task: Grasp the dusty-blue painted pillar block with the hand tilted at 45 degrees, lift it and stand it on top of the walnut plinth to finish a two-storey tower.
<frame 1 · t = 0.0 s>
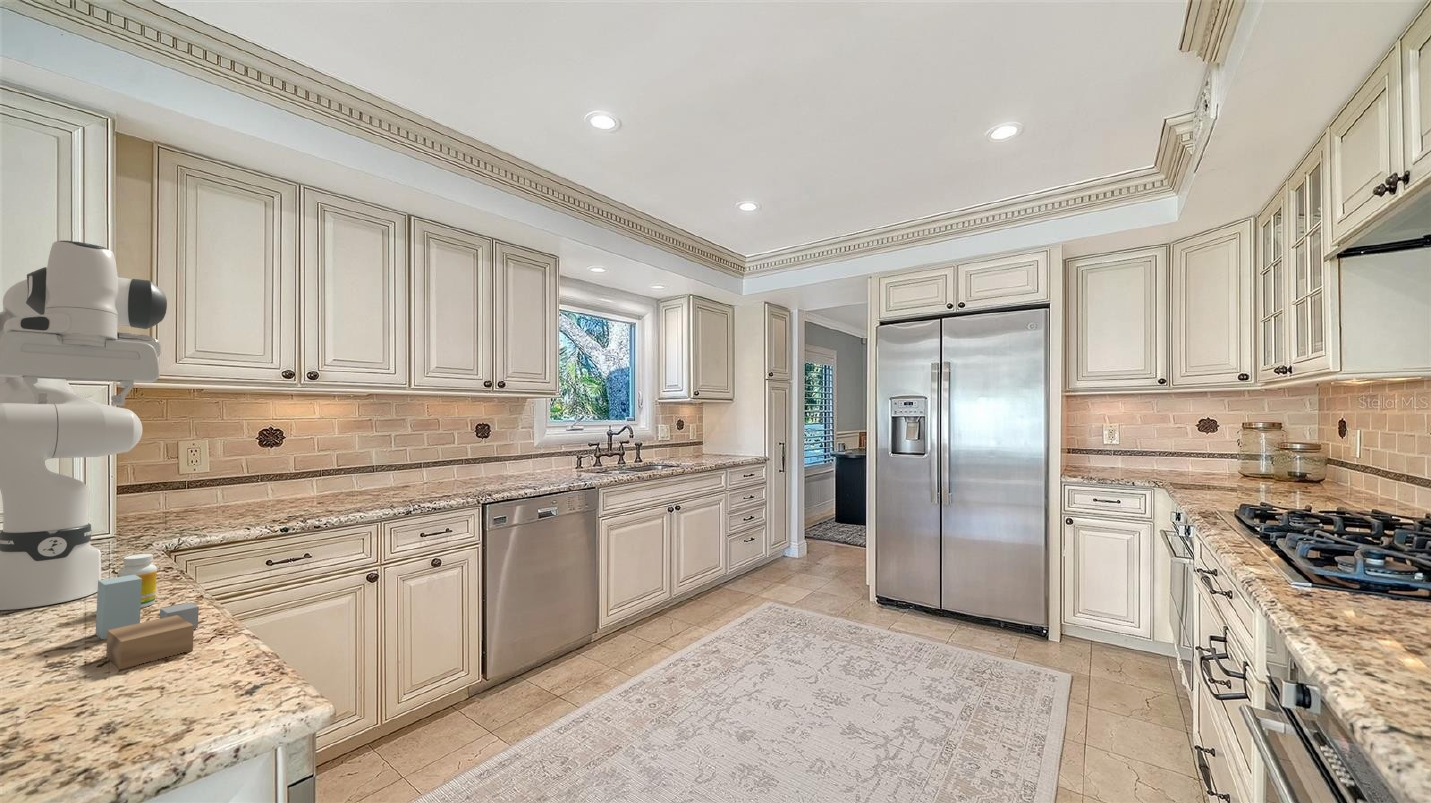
hand: (80, 404, 101), 39 cm above the countertop, tool pointing down, fingers open, 8 cm apart
plinth: (150, 653, 87), on the countertop
supplement bottle: (135, 607, 109), on the countertop
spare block: (178, 631, 97), on the countertop
pillar: (117, 632, 96), on the countertop
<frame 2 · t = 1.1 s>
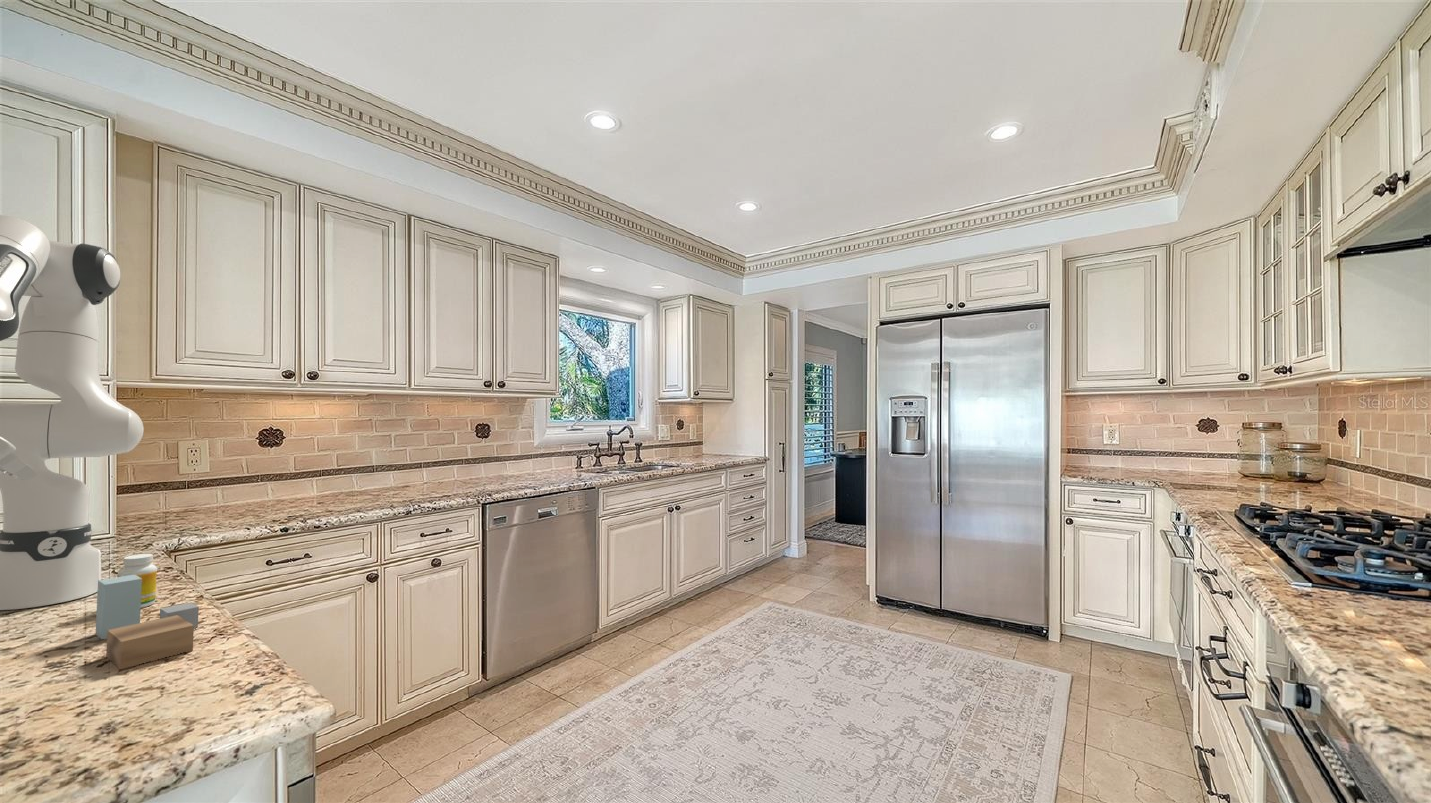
hand: (26, 475, 87), 27 cm above the countertop, tool tilted 45°, fingers open, 8 cm apart
nothing on the countertop moved.
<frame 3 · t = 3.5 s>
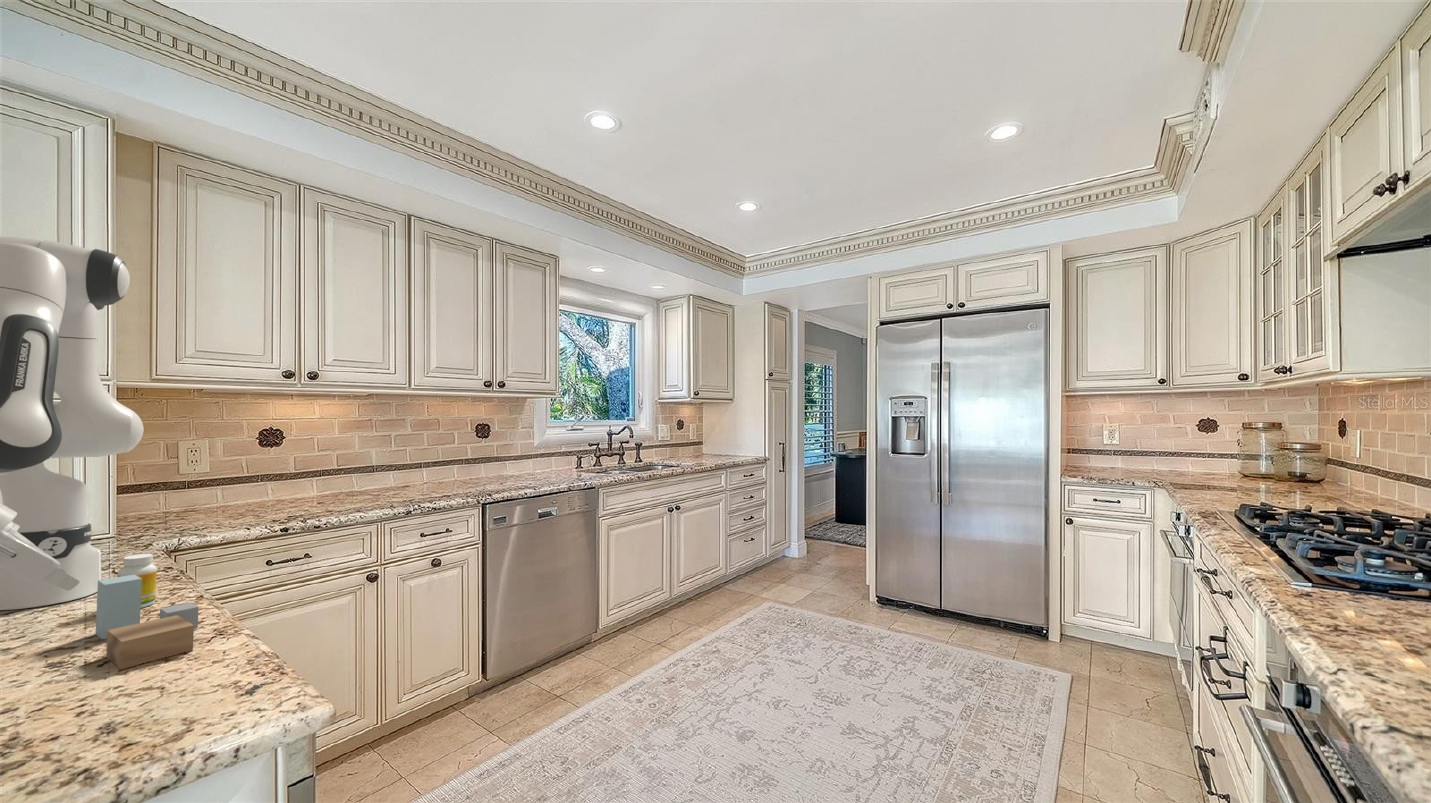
hand: (67, 581, 91), 10 cm above the countertop, tool tilted 45°, fingers open, 8 cm apart
nothing on the countertop moved.
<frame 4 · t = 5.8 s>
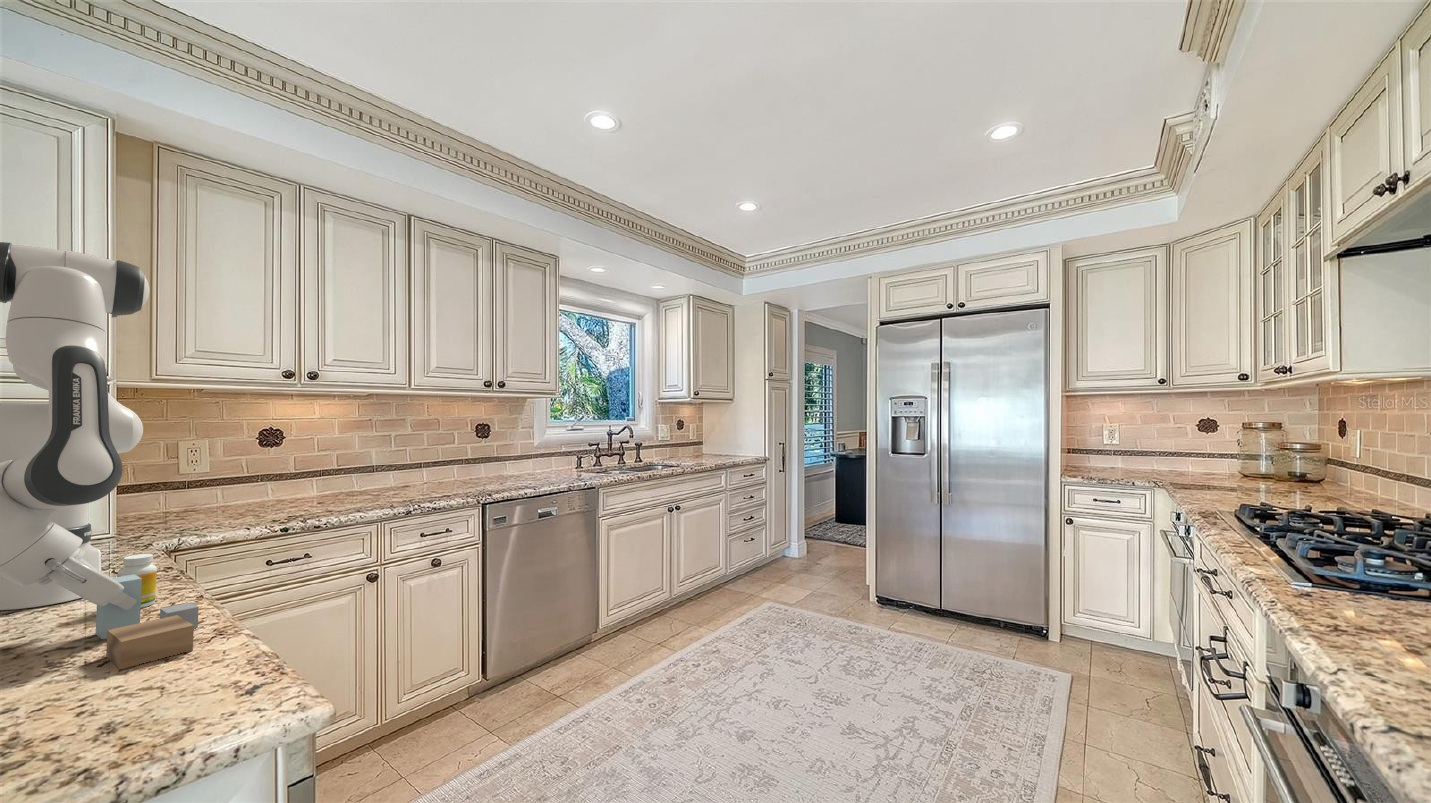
hand: (126, 602, 97), 5 cm above the countertop, tool tilted 45°, fingers closed on pillar, 4 cm apart
pillar: (117, 632, 96), on the countertop, touching gripper
everything else where it was.
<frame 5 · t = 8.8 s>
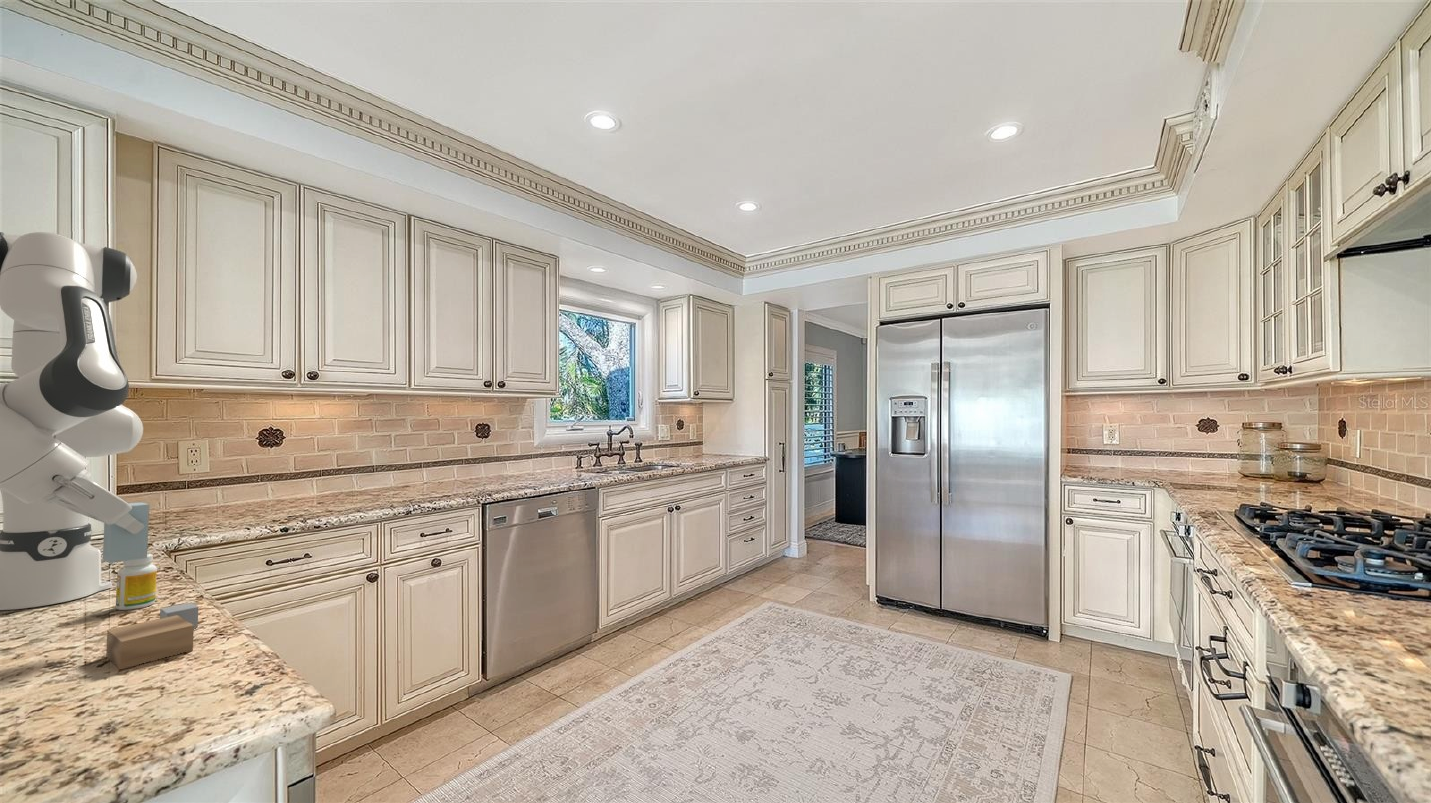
hand: (134, 528, 95), 18 cm above the countertop, tool tilted 45°, fingers closed on pillar, 4 cm apart
pillar: (124, 558, 94), point 13 cm above the countertop, touching gripper
everything else where it was.
when the fingers open (10 cm above the countertop, at t = 11.8 s): pillar drops 1 cm, resting on plinth.
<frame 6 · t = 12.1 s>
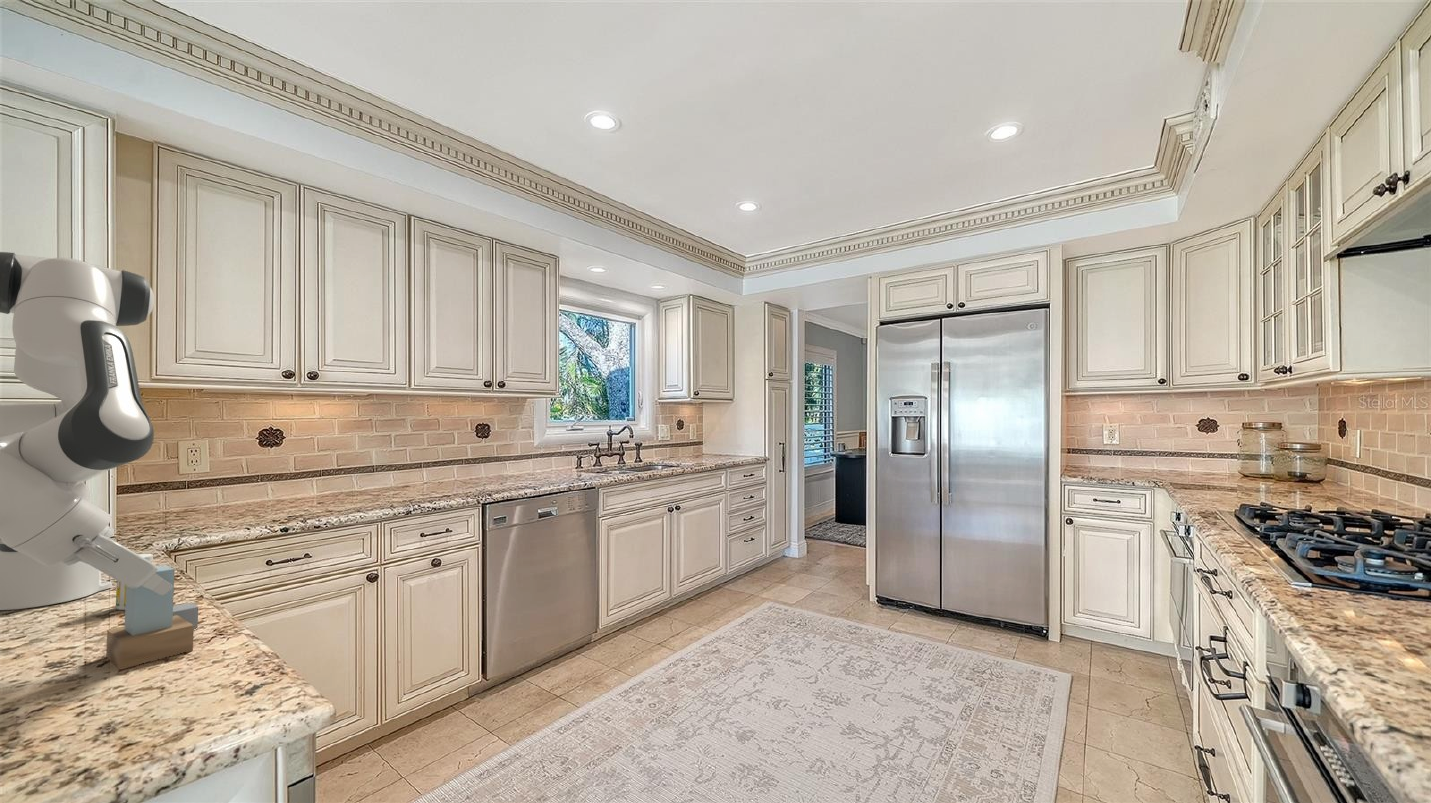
hand: (158, 585, 88), 10 cm above the countertop, tool tilted 45°, fingers open, 7 cm apart
pillar: (148, 628, 87), point 4 cm above the countertop, touching plinth
everything else where it was.
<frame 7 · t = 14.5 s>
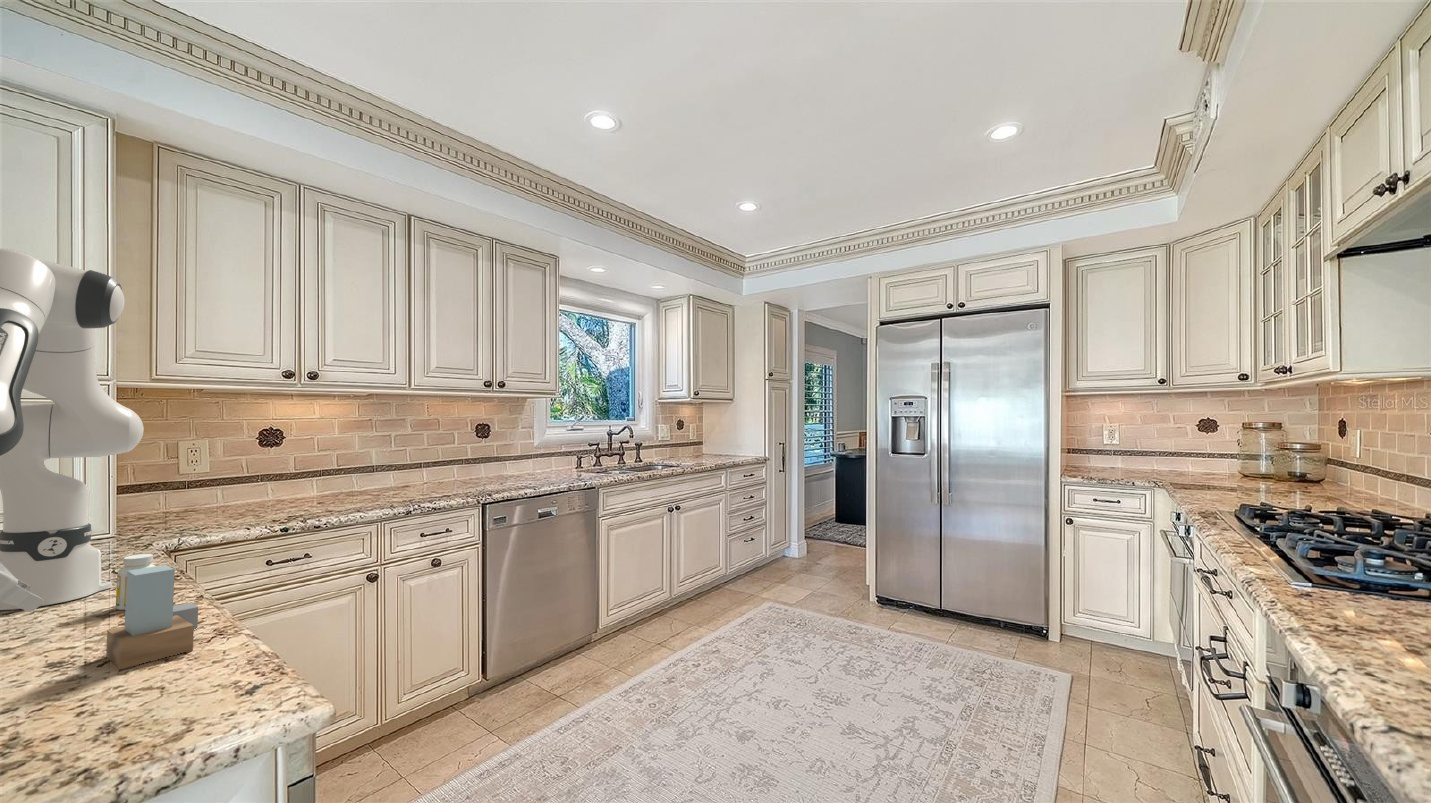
hand: (31, 599, 78), 11 cm above the countertop, tool tilted 45°, fingers open, 8 cm apart
nothing on the countertop moved.
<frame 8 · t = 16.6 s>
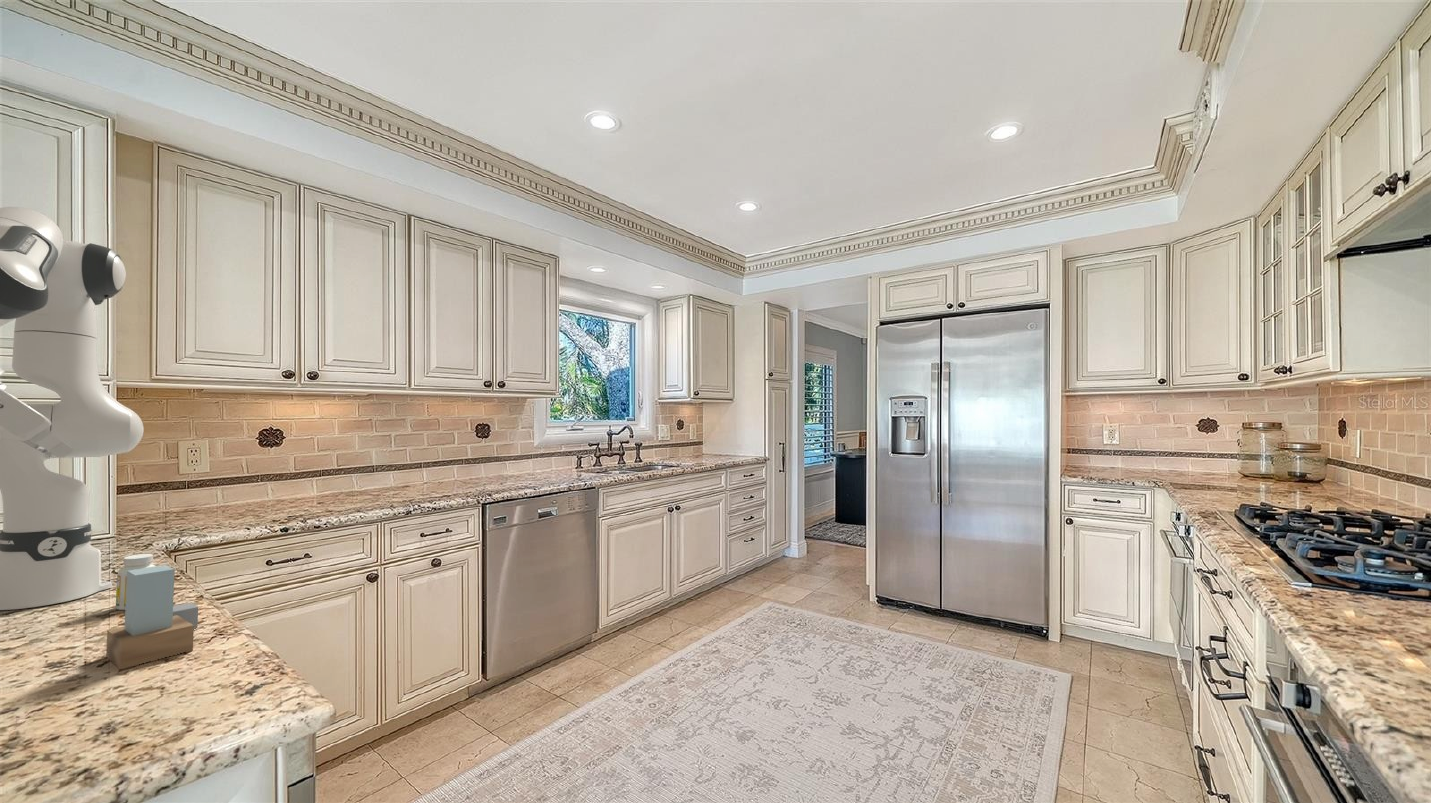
hand: (60, 452, 84), 31 cm above the countertop, tool tilted 45°, fingers open, 8 cm apart
nothing on the countertop moved.
at the end: pillar inside the target area on the plinth (0.3 cm from its centre), point 4.0 cm above the plinth's base; pillar tilted 0°; the gripper is holding nothing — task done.
